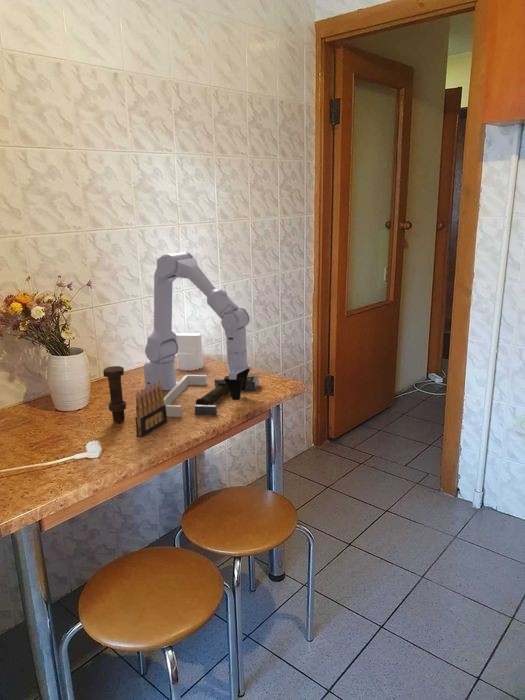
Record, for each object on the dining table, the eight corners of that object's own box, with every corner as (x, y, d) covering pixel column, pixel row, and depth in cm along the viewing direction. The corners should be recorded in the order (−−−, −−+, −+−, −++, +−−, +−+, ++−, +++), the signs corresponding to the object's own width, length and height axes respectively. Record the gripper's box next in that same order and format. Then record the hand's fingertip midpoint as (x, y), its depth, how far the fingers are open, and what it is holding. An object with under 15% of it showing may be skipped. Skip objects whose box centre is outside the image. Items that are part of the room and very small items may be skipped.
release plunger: (241, 387, 168) (240, 375, 167) (243, 383, 172) (242, 372, 171) (252, 387, 168) (251, 376, 167) (254, 383, 171) (253, 372, 170)
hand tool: (207, 413, 151) (207, 397, 149) (195, 411, 152) (194, 395, 151) (238, 391, 167) (237, 377, 166) (226, 390, 169) (226, 376, 168)
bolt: (133, 418, 147) (128, 366, 143) (123, 426, 143) (117, 372, 139) (115, 416, 149) (109, 365, 145) (104, 423, 145) (98, 370, 141)
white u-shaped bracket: (156, 416, 149) (155, 406, 148) (186, 383, 175) (185, 374, 175) (181, 416, 148) (180, 406, 147) (207, 383, 174) (206, 375, 174)
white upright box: (174, 370, 190) (172, 337, 187) (182, 362, 199) (180, 331, 196) (199, 370, 189) (197, 337, 186) (205, 363, 197) (203, 331, 194)
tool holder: (195, 414, 149) (194, 404, 148) (217, 383, 174) (217, 374, 174) (242, 416, 147) (242, 405, 146) (258, 384, 172) (258, 375, 171)
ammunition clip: (161, 421, 145) (158, 379, 142) (167, 422, 145) (164, 379, 142) (136, 436, 136) (132, 391, 133) (142, 437, 135) (138, 392, 132)
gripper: (245, 358, 147) (247, 404, 151) (254, 344, 161) (256, 387, 165) (220, 357, 148) (223, 403, 152) (231, 344, 162) (233, 386, 166)
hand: (238, 395), depth 158 cm, fingers open, 7 cm apart
